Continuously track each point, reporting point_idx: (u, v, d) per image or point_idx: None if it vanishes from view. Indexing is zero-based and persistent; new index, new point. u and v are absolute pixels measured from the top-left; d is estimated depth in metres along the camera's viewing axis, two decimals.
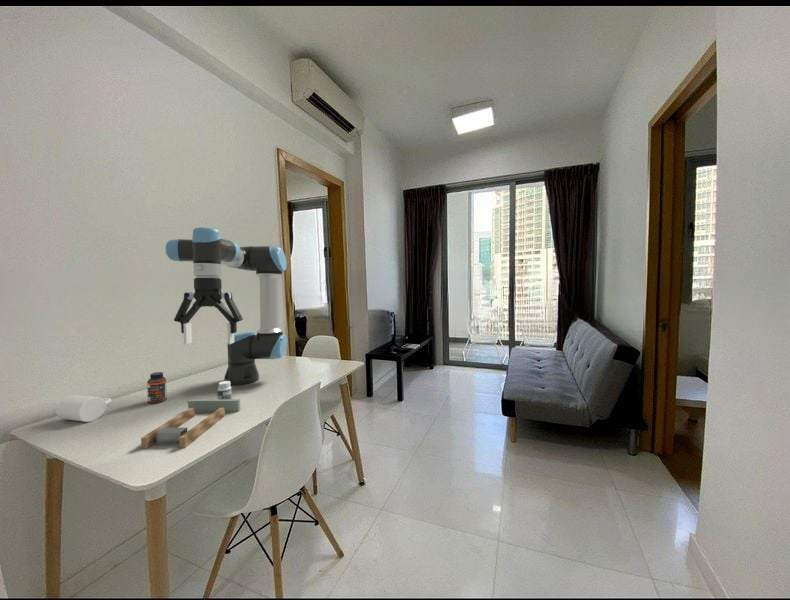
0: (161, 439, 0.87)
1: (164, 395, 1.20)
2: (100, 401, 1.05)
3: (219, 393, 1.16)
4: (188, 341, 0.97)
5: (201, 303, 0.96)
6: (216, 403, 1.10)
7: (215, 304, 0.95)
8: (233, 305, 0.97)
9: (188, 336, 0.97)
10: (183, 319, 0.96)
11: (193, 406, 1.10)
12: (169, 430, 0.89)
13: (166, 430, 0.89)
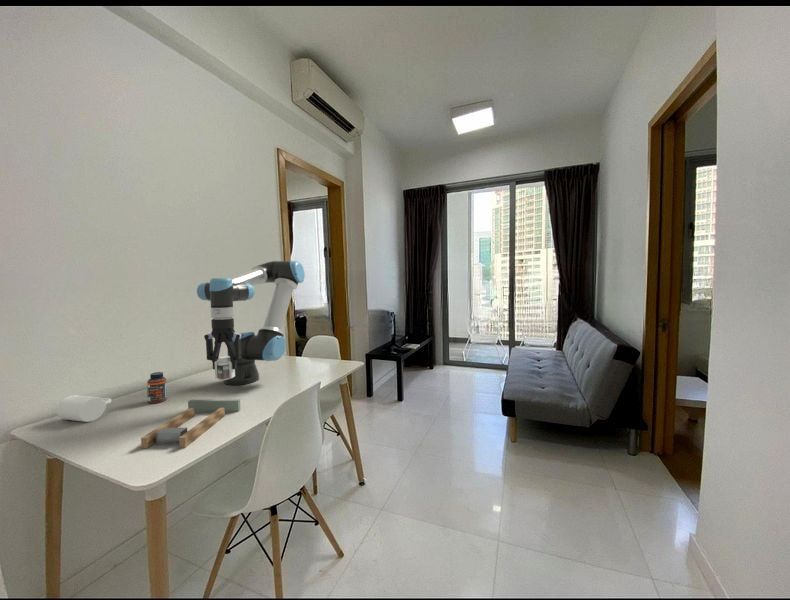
0: (161, 439, 0.87)
1: (164, 395, 1.20)
2: (100, 401, 1.05)
3: (219, 367, 1.15)
4: None
5: (220, 339, 1.16)
6: (216, 403, 1.10)
7: (226, 342, 1.15)
8: (239, 345, 1.17)
9: None
10: (213, 358, 1.16)
11: (193, 406, 1.10)
12: (169, 430, 0.89)
13: (166, 430, 0.89)
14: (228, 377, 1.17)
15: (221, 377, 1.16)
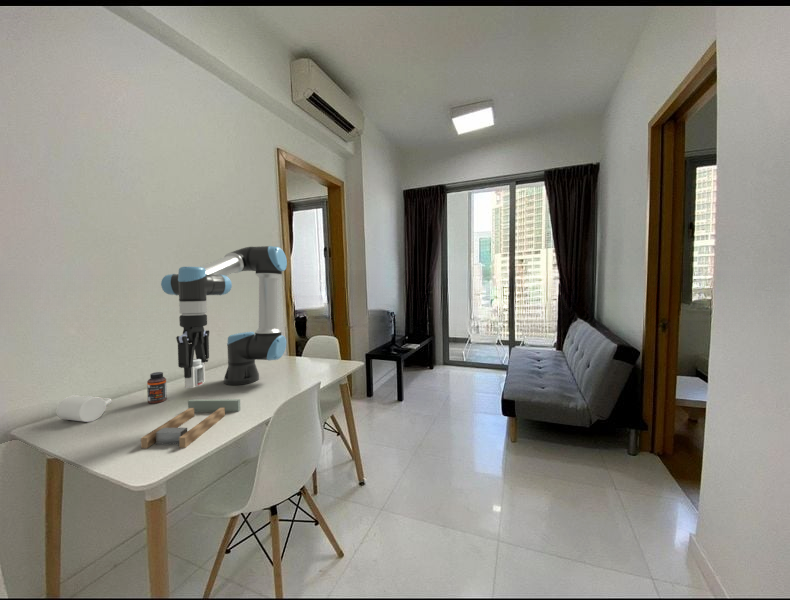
0: (161, 439, 0.87)
1: (164, 395, 1.20)
2: (100, 401, 1.05)
3: None
4: None
5: None
6: (216, 403, 1.10)
7: None
8: (181, 350, 0.93)
9: None
10: None
11: (193, 406, 1.10)
12: (169, 430, 0.89)
13: (166, 430, 0.89)
14: None
15: None
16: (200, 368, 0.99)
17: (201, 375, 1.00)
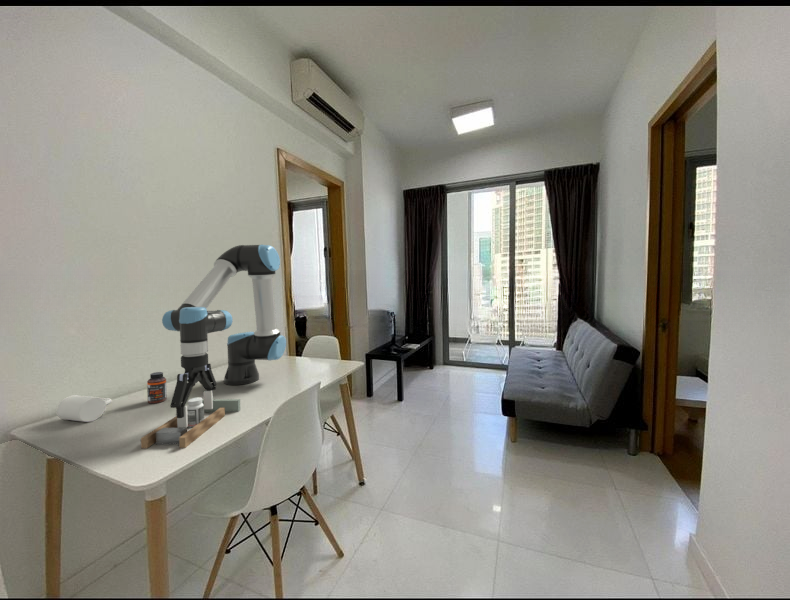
0: (161, 439, 0.87)
1: (164, 395, 1.20)
2: (100, 401, 1.05)
3: None
4: (207, 407, 1.07)
5: None
6: (216, 403, 1.10)
7: None
8: (178, 389, 0.92)
9: (206, 403, 1.07)
10: None
11: None
12: (169, 430, 0.89)
13: (166, 430, 0.89)
14: (188, 424, 0.99)
15: None
16: (201, 407, 1.00)
17: (202, 414, 1.00)
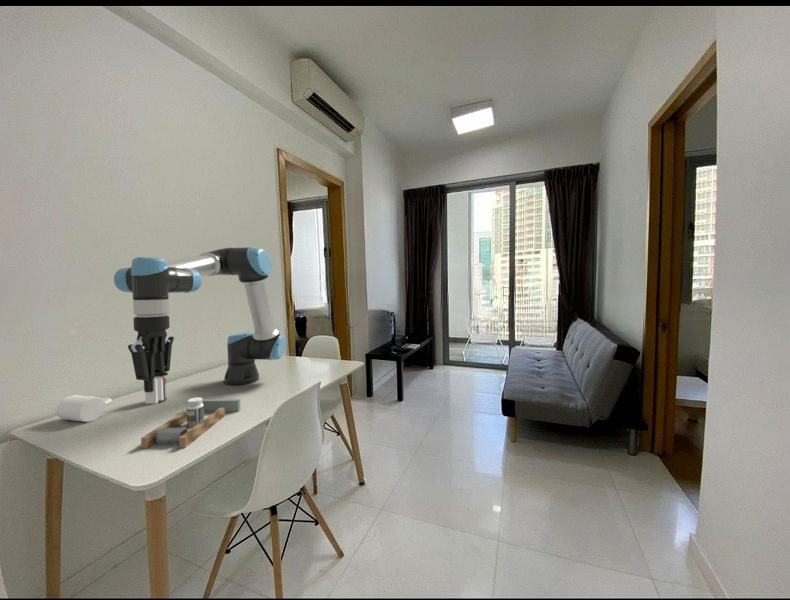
0: (161, 439, 0.87)
1: (164, 395, 1.20)
2: (100, 401, 1.05)
3: None
4: None
5: None
6: (216, 403, 1.10)
7: None
8: (136, 361, 0.77)
9: None
10: None
11: None
12: (169, 430, 0.89)
13: (166, 430, 0.89)
14: (188, 424, 0.99)
15: None
16: (201, 407, 1.00)
17: (202, 414, 1.00)
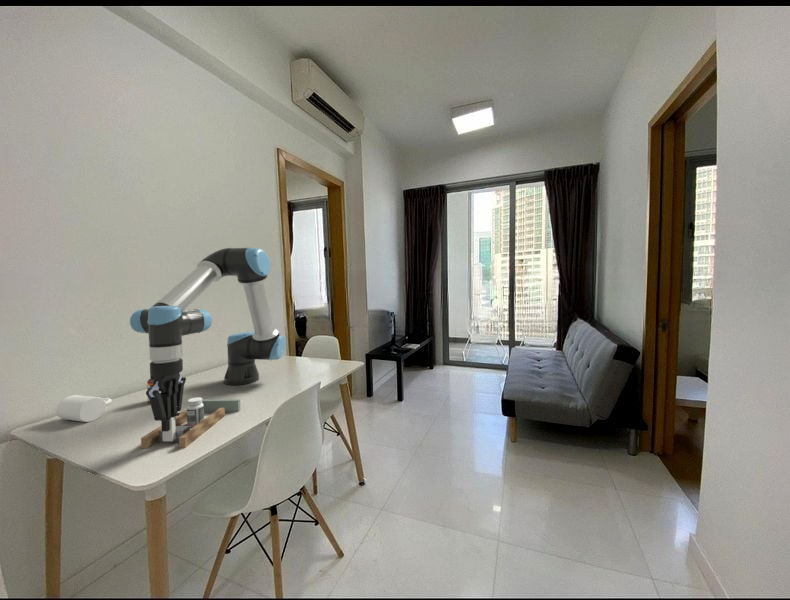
0: None
1: None
2: (100, 401, 1.05)
3: None
4: None
5: None
6: (216, 403, 1.10)
7: None
8: (154, 405, 0.83)
9: None
10: None
11: None
12: None
13: None
14: (188, 424, 0.99)
15: None
16: (201, 407, 1.00)
17: (202, 414, 1.00)
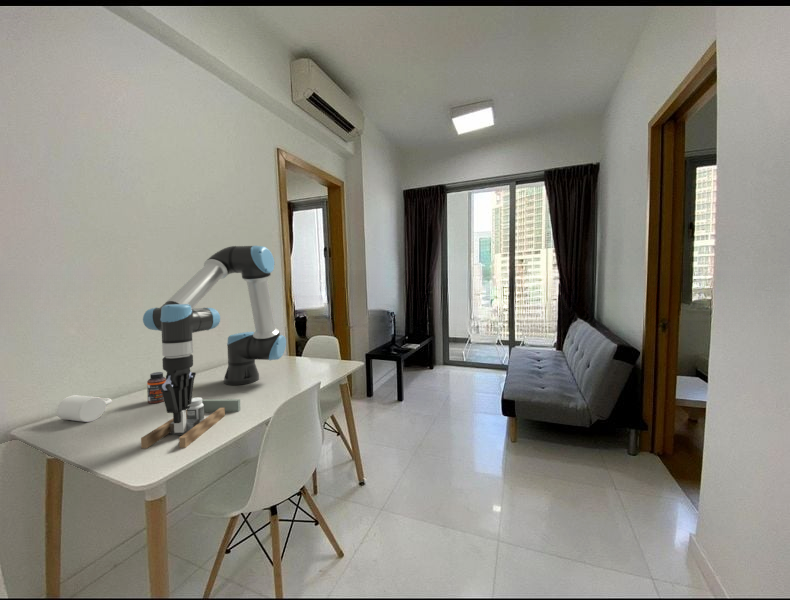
0: None
1: None
2: (100, 401, 1.05)
3: None
4: None
5: None
6: (216, 403, 1.10)
7: None
8: (167, 398, 0.87)
9: None
10: None
11: None
12: None
13: None
14: None
15: None
16: (201, 407, 1.00)
17: (202, 414, 1.00)
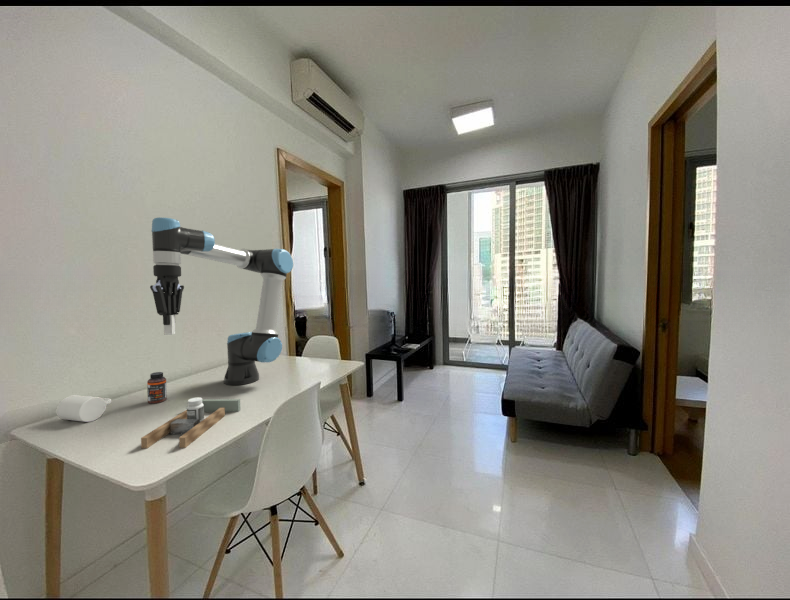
0: (175, 429, 0.93)
1: (164, 395, 1.20)
2: (100, 401, 1.05)
3: None
4: None
5: None
6: (216, 403, 1.10)
7: None
8: (157, 299, 0.98)
9: None
10: None
11: None
12: (182, 421, 0.95)
13: (180, 421, 0.95)
14: None
15: None
16: (201, 407, 1.00)
17: (202, 414, 1.00)
